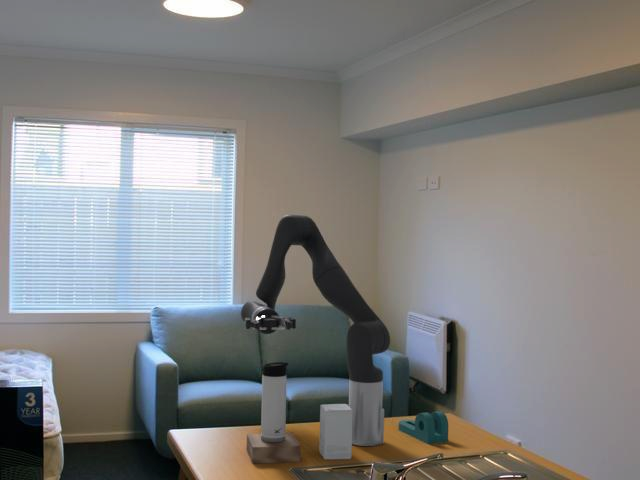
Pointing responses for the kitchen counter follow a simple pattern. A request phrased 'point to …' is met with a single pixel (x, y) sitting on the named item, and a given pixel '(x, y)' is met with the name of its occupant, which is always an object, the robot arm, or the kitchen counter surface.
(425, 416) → the bracket
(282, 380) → the travel mug
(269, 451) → the walnut plinth
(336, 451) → the supplement box
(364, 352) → the robot arm
